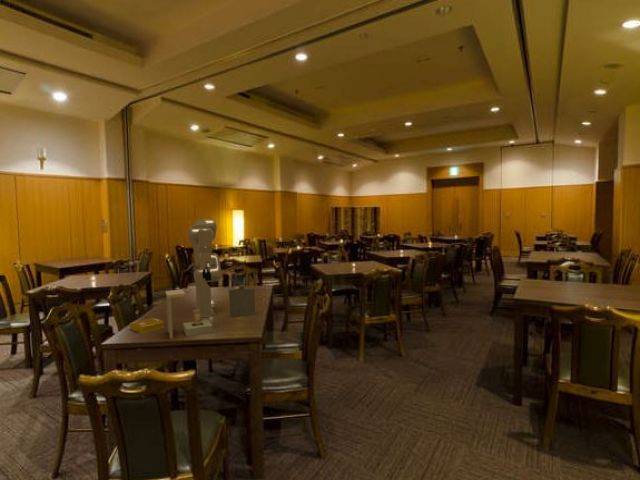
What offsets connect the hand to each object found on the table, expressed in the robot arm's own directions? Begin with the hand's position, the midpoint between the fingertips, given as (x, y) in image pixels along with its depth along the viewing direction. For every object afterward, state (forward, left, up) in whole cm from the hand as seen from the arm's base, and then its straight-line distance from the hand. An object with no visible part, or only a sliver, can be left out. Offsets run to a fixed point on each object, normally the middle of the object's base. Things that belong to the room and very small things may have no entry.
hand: (206, 279), depth 223 cm
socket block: (+5, -11, -28) cm, 31 cm away
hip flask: (-16, +24, -29) cm, 41 cm away
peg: (+5, -7, -28) cm, 30 cm away
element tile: (-16, -33, -29) cm, 47 cm away
